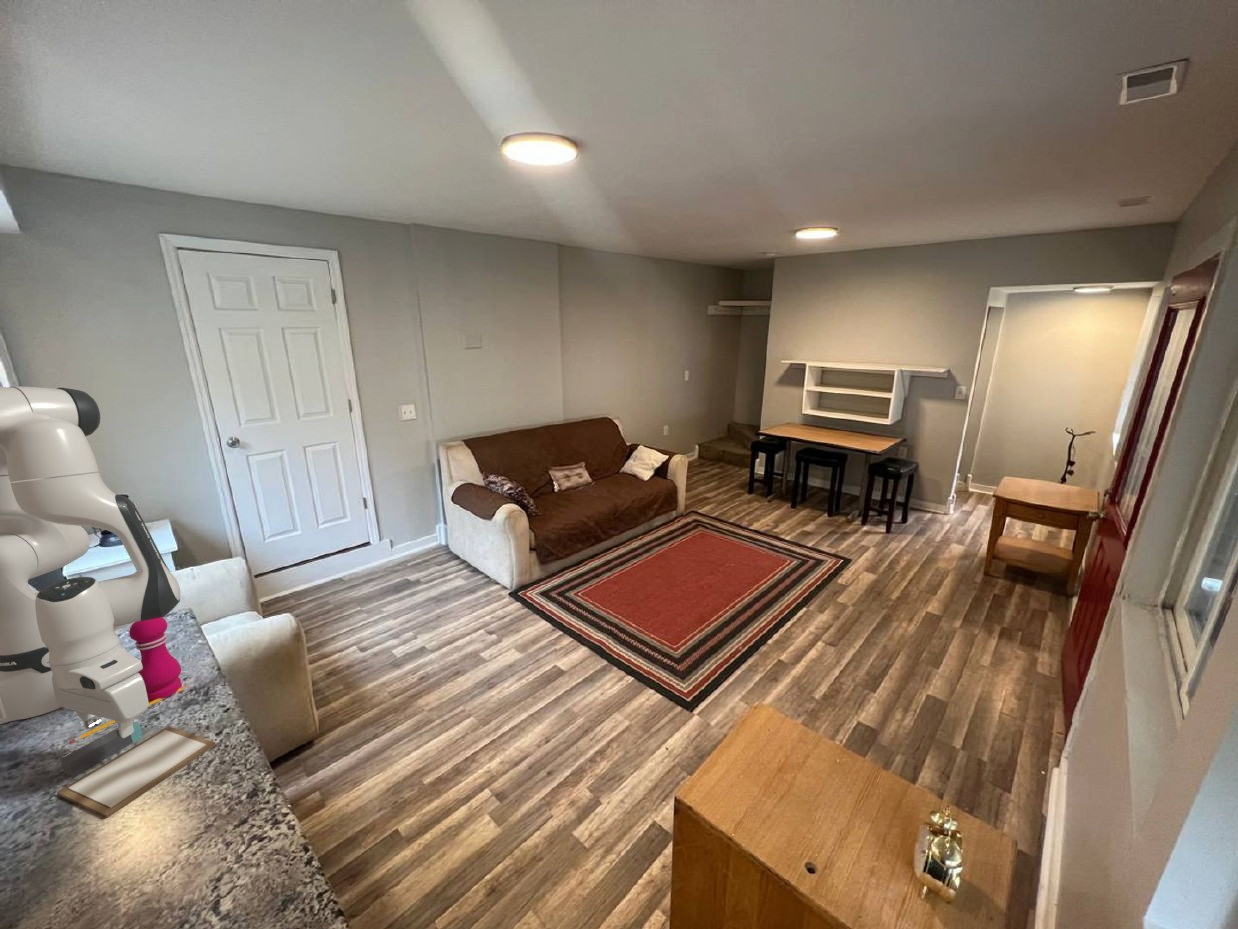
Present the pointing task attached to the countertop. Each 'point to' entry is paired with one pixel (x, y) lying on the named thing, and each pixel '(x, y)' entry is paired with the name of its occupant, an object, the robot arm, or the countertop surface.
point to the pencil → (113, 721)
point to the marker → (98, 751)
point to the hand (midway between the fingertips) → (109, 730)
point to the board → (135, 771)
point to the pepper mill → (156, 658)
